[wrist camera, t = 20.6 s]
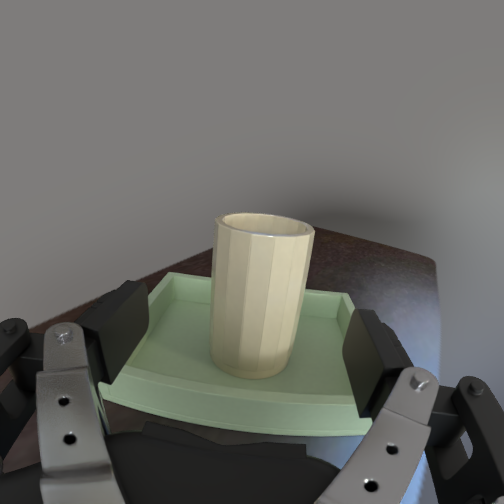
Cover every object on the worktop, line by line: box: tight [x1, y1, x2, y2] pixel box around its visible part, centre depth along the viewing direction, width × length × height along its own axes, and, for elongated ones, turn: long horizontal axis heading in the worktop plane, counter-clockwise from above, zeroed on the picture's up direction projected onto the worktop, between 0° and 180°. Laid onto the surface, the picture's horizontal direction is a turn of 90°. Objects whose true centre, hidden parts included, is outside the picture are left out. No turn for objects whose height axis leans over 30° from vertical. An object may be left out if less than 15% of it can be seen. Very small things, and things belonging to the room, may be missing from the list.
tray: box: [98, 272, 373, 436], centre depth 21 cm, size 18×15×3 cm
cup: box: [209, 212, 315, 379], centre depth 20 cm, size 6×6×10 cm
